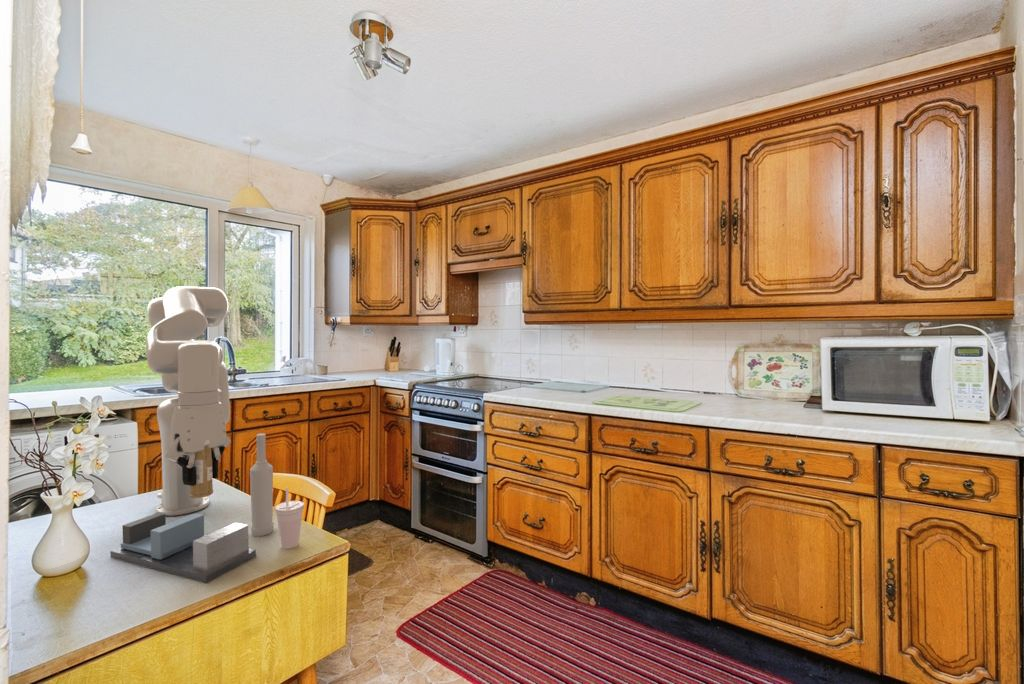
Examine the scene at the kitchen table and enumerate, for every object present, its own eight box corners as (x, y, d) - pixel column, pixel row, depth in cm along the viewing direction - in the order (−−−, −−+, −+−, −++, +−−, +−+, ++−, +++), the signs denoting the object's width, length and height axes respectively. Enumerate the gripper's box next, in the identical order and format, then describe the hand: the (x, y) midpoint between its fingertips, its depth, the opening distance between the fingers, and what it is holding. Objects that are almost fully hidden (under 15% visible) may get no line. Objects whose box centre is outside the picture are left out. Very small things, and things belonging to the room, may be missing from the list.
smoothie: (270, 545, 114) (270, 487, 114) (297, 536, 119) (297, 481, 119) (281, 554, 110) (280, 494, 109) (309, 545, 115) (308, 487, 114)
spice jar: (218, 493, 107) (216, 433, 106) (197, 500, 103) (196, 438, 102) (204, 490, 109) (203, 431, 108) (184, 497, 105) (182, 436, 104)
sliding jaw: (118, 548, 109) (117, 522, 108) (163, 530, 118) (162, 506, 118) (160, 559, 104) (160, 532, 104) (204, 540, 113) (203, 515, 113)
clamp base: (110, 557, 108) (109, 524, 108) (164, 535, 119) (164, 505, 119) (206, 583, 98) (205, 547, 97) (255, 556, 109) (255, 523, 109)
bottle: (251, 529, 123) (250, 433, 122) (274, 526, 125) (273, 431, 124) (249, 538, 118) (248, 437, 117) (273, 534, 120) (271, 435, 119)
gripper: (221, 392, 114) (223, 468, 115) (146, 403, 98) (149, 491, 99) (245, 394, 112) (246, 471, 112) (172, 406, 96) (174, 496, 97)
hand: (200, 480), depth 106 cm, fingers closed on spice jar, 4 cm apart
